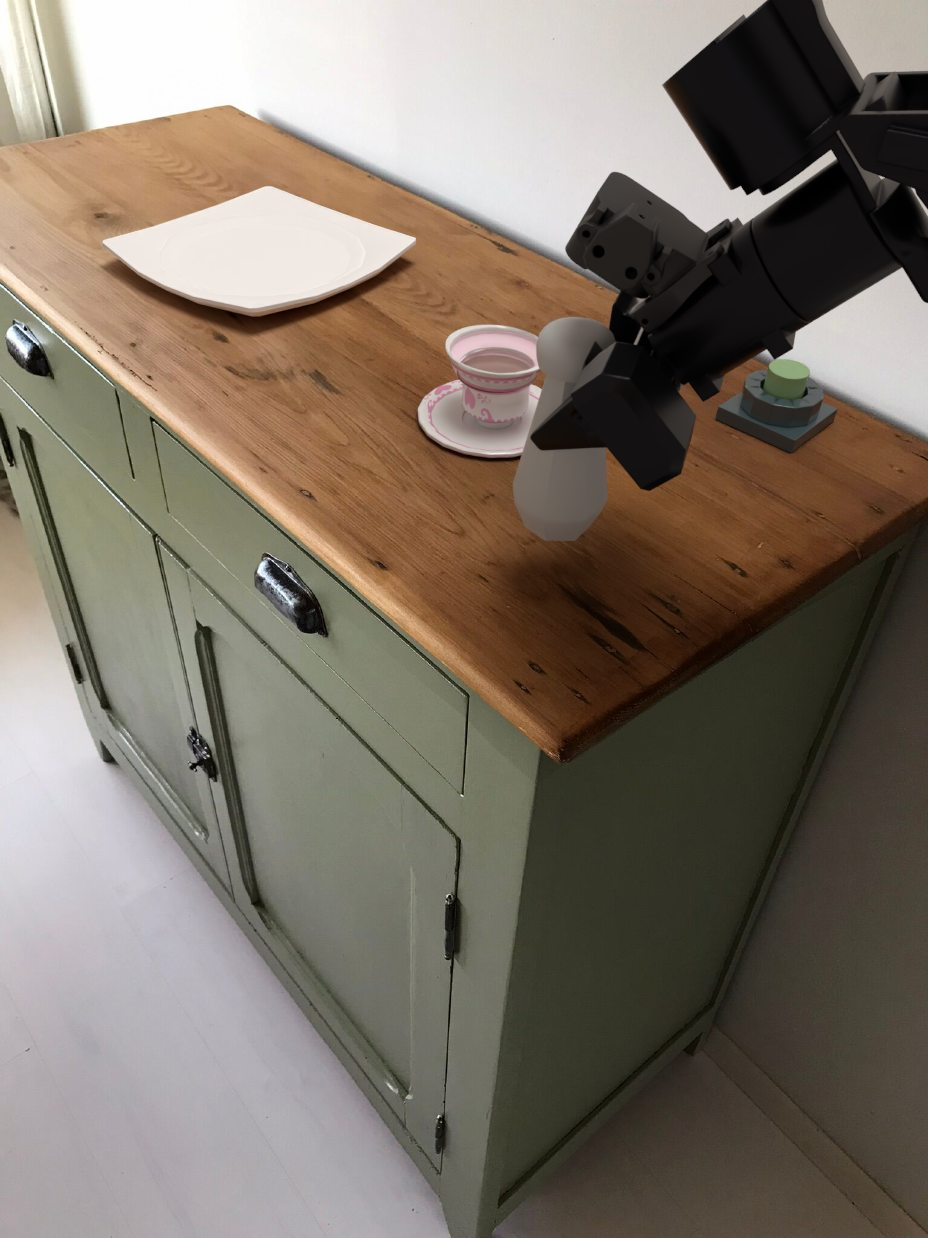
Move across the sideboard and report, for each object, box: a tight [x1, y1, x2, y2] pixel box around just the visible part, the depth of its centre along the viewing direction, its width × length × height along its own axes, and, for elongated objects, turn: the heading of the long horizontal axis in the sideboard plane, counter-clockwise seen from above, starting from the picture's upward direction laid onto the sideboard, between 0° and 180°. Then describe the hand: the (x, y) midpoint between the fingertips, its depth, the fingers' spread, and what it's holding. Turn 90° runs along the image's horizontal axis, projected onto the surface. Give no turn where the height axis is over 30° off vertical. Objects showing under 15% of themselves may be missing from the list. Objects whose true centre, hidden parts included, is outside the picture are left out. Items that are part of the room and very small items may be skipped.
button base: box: [715, 368, 839, 454], centre depth 77 cm, size 7×7×3 cm
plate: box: [101, 185, 417, 317], centre depth 96 cm, size 24×24×3 cm
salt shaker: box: [512, 316, 616, 542], centre depth 55 cm, size 6×6×13 cm
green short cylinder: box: [763, 358, 811, 400], centre depth 76 cm, size 3×3×2 cm
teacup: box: [417, 324, 542, 459], centre depth 75 cm, size 12×12×6 cm
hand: (543, 426), depth 56 cm, fingers closed on salt shaker, 3 cm apart
